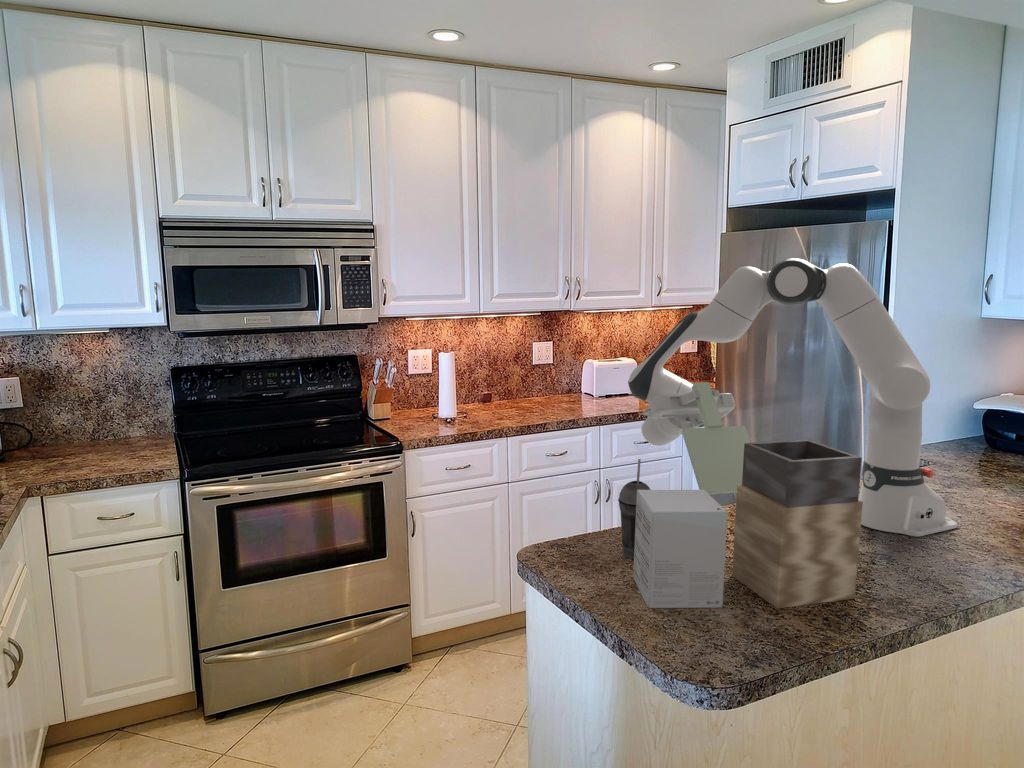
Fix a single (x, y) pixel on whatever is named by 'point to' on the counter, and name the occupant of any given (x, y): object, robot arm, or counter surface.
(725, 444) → the lid
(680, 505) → the supplement box
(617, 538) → the counter surface
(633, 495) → the beverage cup
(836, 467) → the tub stand
